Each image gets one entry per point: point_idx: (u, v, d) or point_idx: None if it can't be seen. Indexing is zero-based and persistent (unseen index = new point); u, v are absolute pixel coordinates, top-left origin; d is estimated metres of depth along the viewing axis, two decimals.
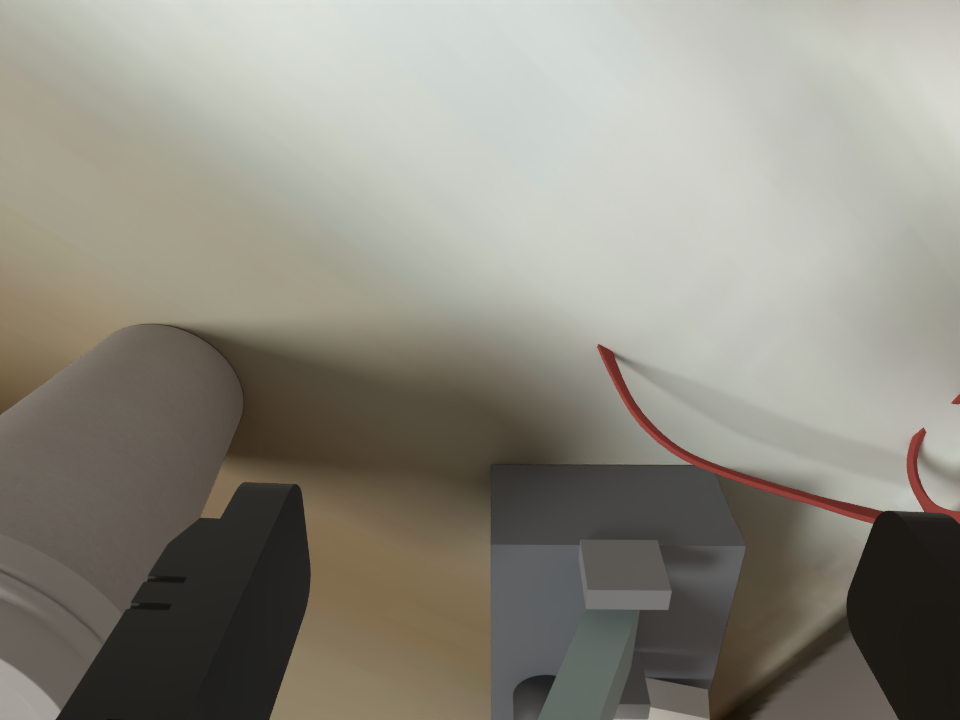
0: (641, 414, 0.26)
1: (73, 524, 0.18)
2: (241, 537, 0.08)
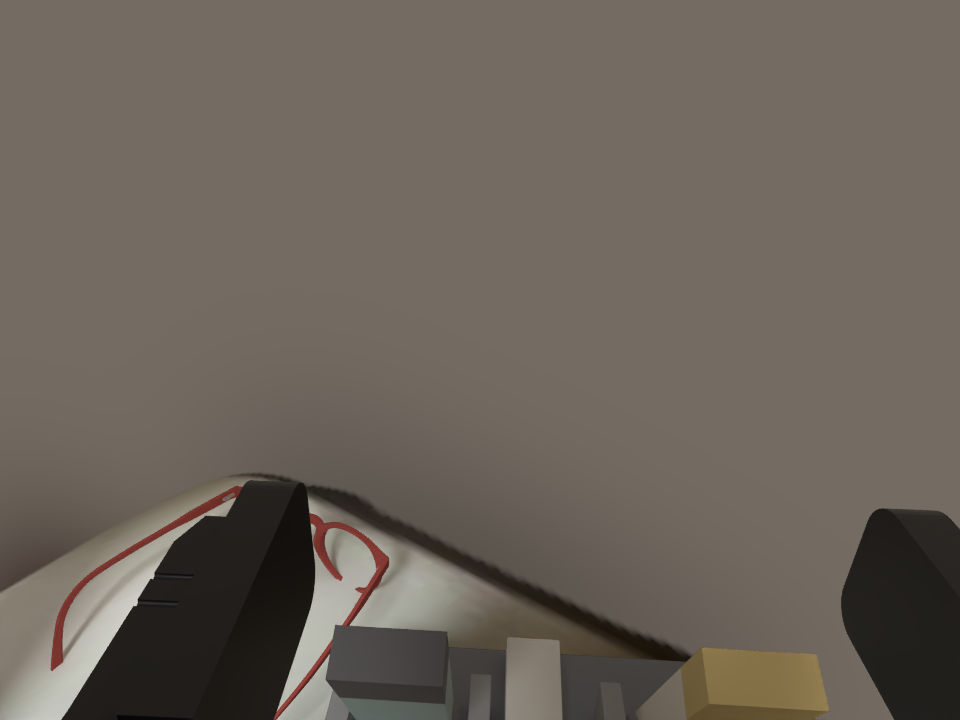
0: None
1: None
2: (247, 535, 0.08)
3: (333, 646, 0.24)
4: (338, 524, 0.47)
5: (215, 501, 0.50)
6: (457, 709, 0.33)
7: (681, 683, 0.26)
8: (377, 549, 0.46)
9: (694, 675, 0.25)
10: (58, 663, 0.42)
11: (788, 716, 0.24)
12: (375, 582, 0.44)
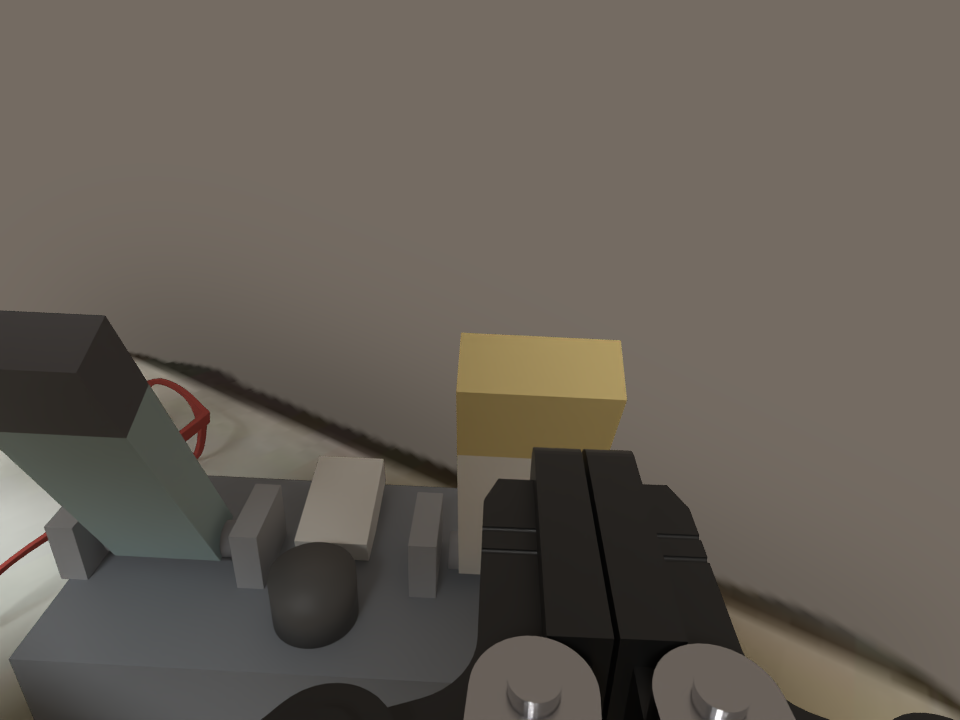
0: None
1: None
2: (565, 492, 0.09)
3: None
4: (157, 379, 0.40)
5: None
6: (231, 523, 0.26)
7: None
8: (197, 403, 0.38)
9: None
10: None
11: (581, 427, 0.17)
12: (184, 434, 0.36)
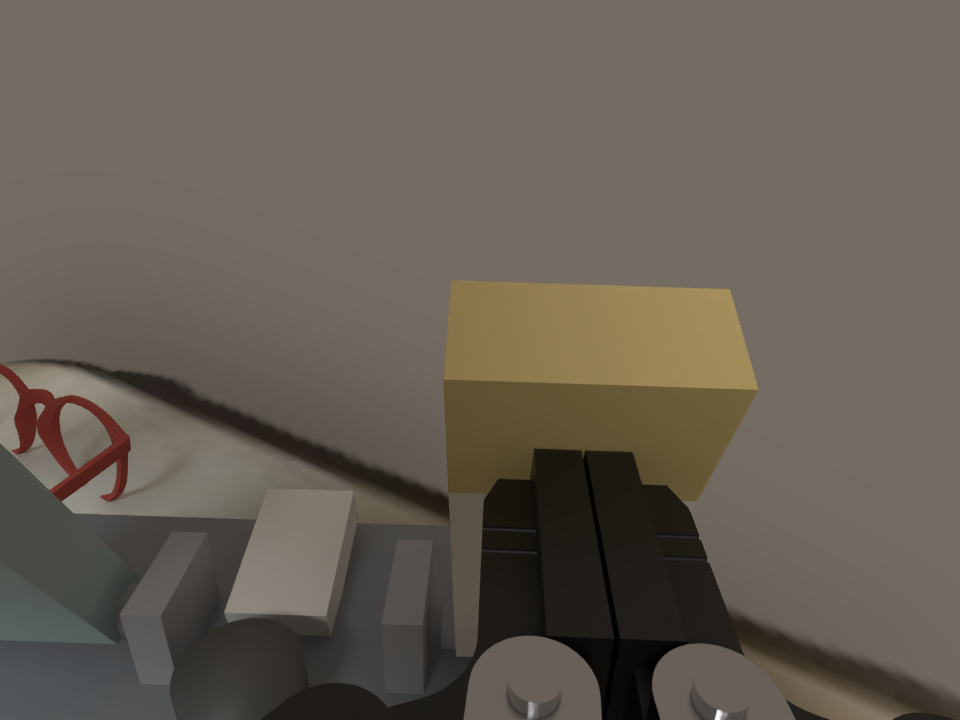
0: None
1: None
2: (564, 492, 0.09)
3: None
4: (68, 397, 0.32)
5: None
6: (135, 589, 0.18)
7: None
8: (115, 426, 0.30)
9: None
10: None
11: (666, 442, 0.10)
12: (93, 467, 0.28)
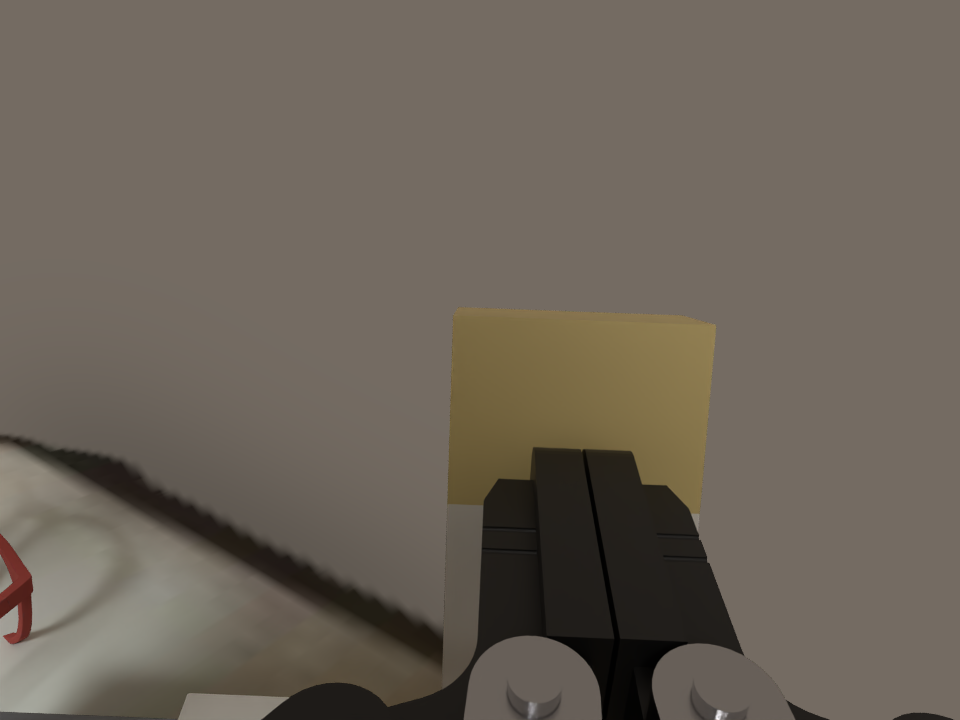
0: None
1: None
2: (565, 492, 0.09)
3: None
4: None
5: None
6: None
7: None
8: (15, 560, 0.24)
9: None
10: None
11: (652, 407, 0.11)
12: None
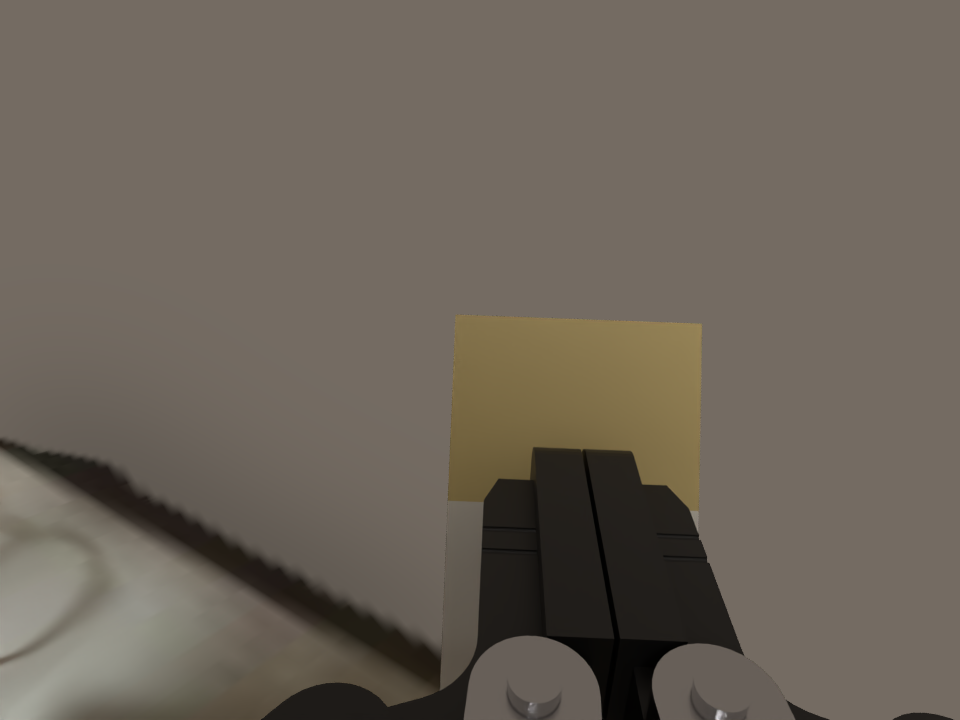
0: None
1: None
2: (565, 492, 0.09)
3: None
4: None
5: None
6: None
7: None
8: None
9: None
10: None
11: (646, 403, 0.11)
12: None
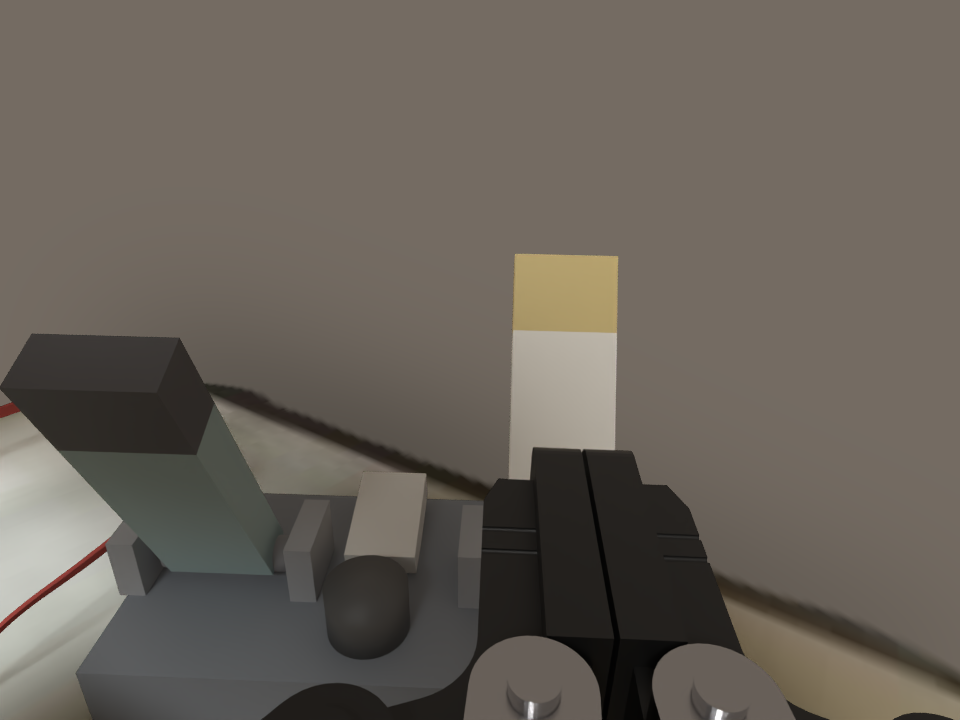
0: None
1: None
2: (565, 492, 0.09)
3: (22, 355, 0.18)
4: None
5: None
6: (283, 538, 0.27)
7: None
8: None
9: (513, 291, 0.28)
10: None
11: (595, 289, 0.26)
12: None
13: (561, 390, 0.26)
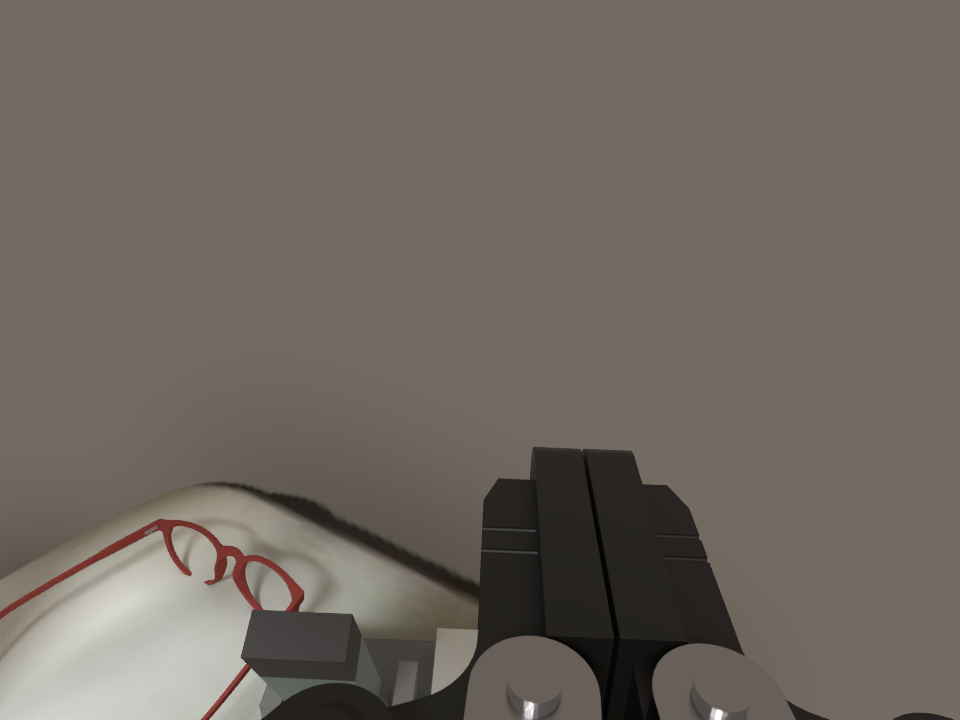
0: None
1: None
2: (565, 492, 0.09)
3: (249, 628, 0.27)
4: (256, 557, 0.47)
5: (137, 535, 0.50)
6: (385, 693, 0.36)
7: None
8: (293, 582, 0.46)
9: None
10: None
11: None
12: None
13: None
